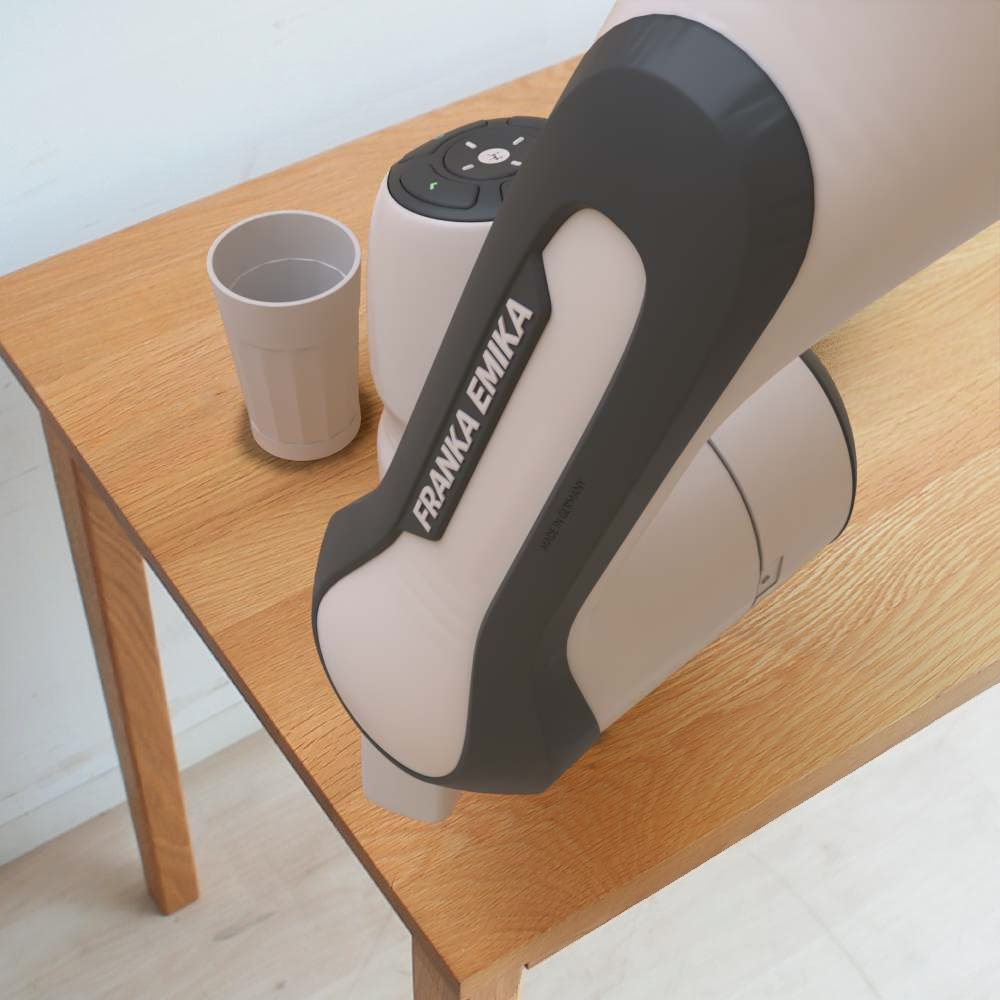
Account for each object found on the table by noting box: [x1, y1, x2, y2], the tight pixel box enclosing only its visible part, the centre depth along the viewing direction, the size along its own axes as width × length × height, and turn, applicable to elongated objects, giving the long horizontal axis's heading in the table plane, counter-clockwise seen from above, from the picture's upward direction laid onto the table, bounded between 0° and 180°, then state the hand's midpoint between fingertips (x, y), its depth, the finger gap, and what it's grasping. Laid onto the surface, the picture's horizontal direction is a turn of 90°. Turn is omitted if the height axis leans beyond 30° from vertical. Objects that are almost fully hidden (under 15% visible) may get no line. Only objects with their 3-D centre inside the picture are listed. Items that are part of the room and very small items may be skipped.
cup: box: [206, 209, 362, 462], centre depth 79 cm, size 8×8×12 cm
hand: (492, 695), depth 67 cm, fingers closed
